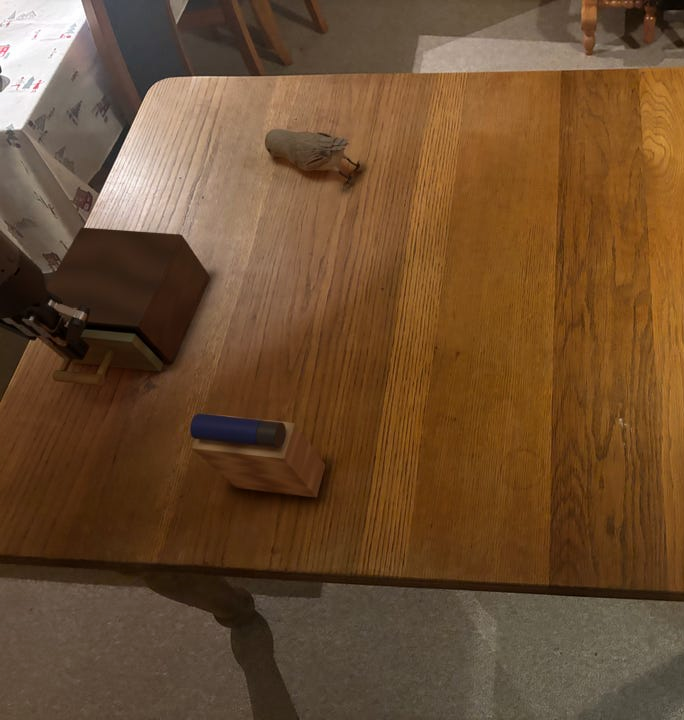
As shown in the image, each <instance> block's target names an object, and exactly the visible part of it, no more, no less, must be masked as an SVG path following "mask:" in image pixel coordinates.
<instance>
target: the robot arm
mask: <svg viewBox="0 0 684 720" xmlns="http://www.w3.org/2000/svg"><path fill="white" fill-rule="evenodd" d="M46 287H47V285H46V281H45V276H44V273H43V271H42V269H41V268H40V267H39V266H38V265H37V263H35V262H34V260H32V259H31V258H30V257H29V256H28V255H27V254H26V253H25V252H24V251H23V250H22V249H21V248H20V247H19V246H18V245H17V244H16V243H15V242H14V241H13V240H12V239H11V238H10V237H9V236H8V235H6V233H4V231H2V229H0V328H2V329H3V330H6V331H9V332H11V333H13V334H15V335H17V336H20V337H22V338H24V339H27V340H29V341H33V342H34V341H36V340H39V341H41V342H42V343H44V344H45V345H46V344H49V345H53V346H55V347H56V348H57V349H58V350H59V351H61V352H62V353H63V354H64V355H65V356H67V357H68V358H69V359H74V360H83V359H84V357H85V355H86V353H87V351H88V349H89V345H88V344H87V343H86V342H85V341H84V340H83V339H82V338H80V336H81V334H82V333H83V331H84V330H85V328H86V325H87V322H88V318H89V314H90V311H91V310H90V308H88V307H86V306H84V305H79V307H78V308H70V307H68V306H65V305H63V302H62V300H61V299H60V298H59V297H58V296H56V295H54V294H53V293H51V292H50V291H48V290H47V289H46Z"/></svg>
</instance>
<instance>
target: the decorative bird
mask: <svg viewBox="0 0 684 720" xmlns="http://www.w3.org/2000/svg"><path fill="white" fill-rule="evenodd" d="M349 140H350V138H345V137H339V136H332V135H330V134H328V133H325V132H312V131H292V130H287V129H282V128H274V129H271V130H269V131H268V132H267V133H266V134H265V137H264V147H265V150H266V151H267V153H268V154H269V155H270V156H271V157H272V158H275V159H276V158H278V157H282V158H285V159H286V160H287V161H289V162H290V163H292V164H293V165H295V166H296V167H297V168H298V169H300V170H302V171H305V172H310V171H315V170H316V171H335V172H336V173H339V174H340V175H341V176H343V177H344V178H346V179H347V180H346V181H345V184H344V185H345V188H347V185H350V183H349V182H350V181H351V180H352V179H353V177H352V176H351V174H352V172H349V174H348V175H346V174H344V173H343V172H342V171H341V170H340V169H339V168H338V167H339V166H340V165H341V164H342V161H343V159H344V160H347V161H348V163H350V164H351V165H353V166H355V168H354V170H353V176H355V174H356V173H358V170H359V169H360V168H361V164H360V160H358V161H357V162H356V163H355V162H353V161H352V160H351V159H350V158H349V157H348V156H347V155H346V154H345V150H346V148H347V146H349V145H350V142H349Z"/></svg>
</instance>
